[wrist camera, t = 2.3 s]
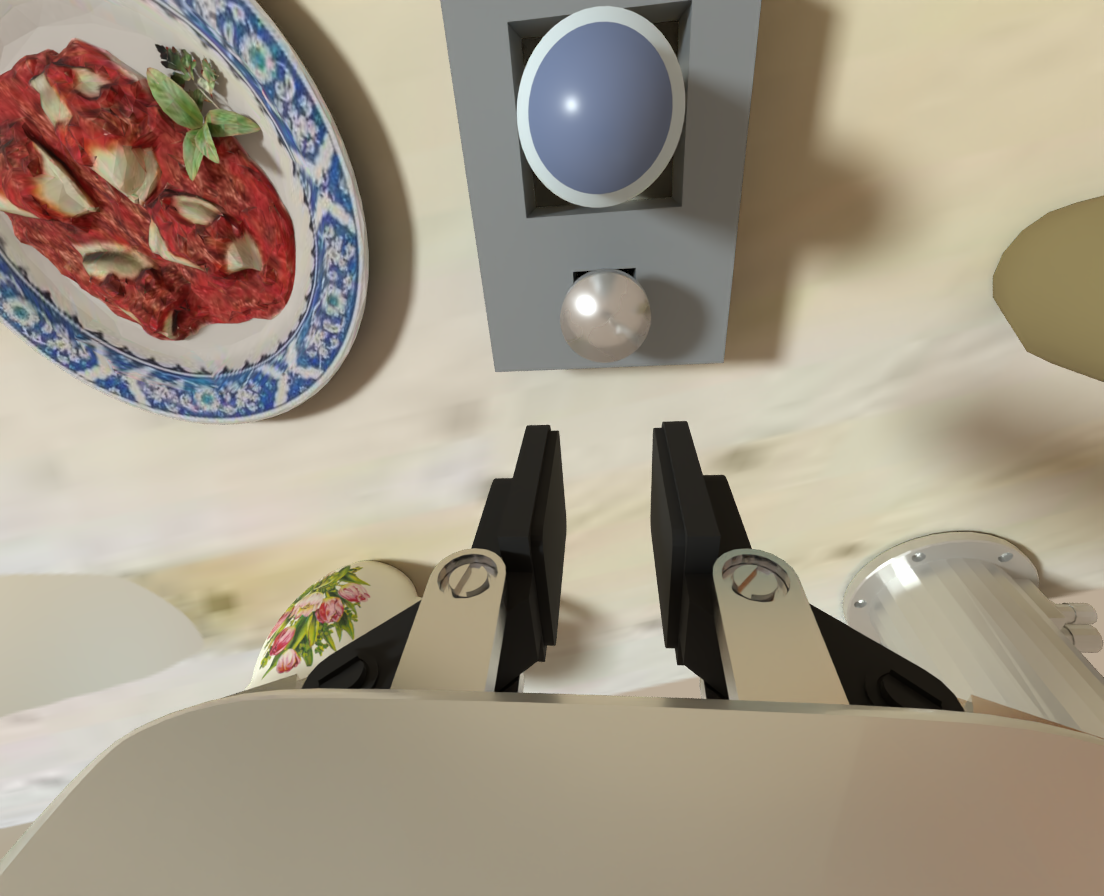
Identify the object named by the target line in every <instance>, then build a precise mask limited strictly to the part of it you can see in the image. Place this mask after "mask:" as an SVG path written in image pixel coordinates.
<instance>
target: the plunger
mask: <svg viewBox="0 0 1104 896" xmlns="http://www.w3.org/2000/svg"><path fill="white" fill-rule="evenodd" d="M650 324H651V311H650V306H649V302H648V298H647V295H646V293H645V291H644V289H643V288H642V286H641V285H640V284H639V282H638V281H637V280H636V279H634V278H633V277H632V276H630V275H629V274H627V273H625V272H623V271H620V270H617V269H610V268H604V269H597V270H593V271H590V272H588V273H586V274H584V275H583V276H581V277H580V278H578V279H577V280H576V281H575V282H574V283H573V284H572V285H571V287H570V288H569V290H568V291H567V293H566V295H565V298H564V301H563V304H562V308H561V314H560V325H561V330H562V334H563V336H564V338H565V340H566V342H567V344H568V345H569V346H570V347H571V349H572V350H573V351H574V352H576V353H577V354H578V355H580V356H581V357H583V358H585V359H588V360H590V361H594V362H600V363H608V362H614V361H618V360H621V359H624V358H626V357H628V356H629V355H631V354H632V353H633V352H635V351H636V350H637V349H638V348H639V347H640V346H641V344H642V343H643V342H644V340H645V338H646V336H647V334H648V331H649V328H650Z"/></svg>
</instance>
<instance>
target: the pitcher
mask: <svg viewBox="0 0 1104 896" xmlns="http://www.w3.org/2000/svg"><path fill="white" fill-rule="evenodd" d="M420 600H422V598H421V597H418V595H417V593H416V589H415V587H414V585H413V583H412V582H411V580H410V579H409V578H408V577H407V576H406V575H405V574H404V573H403V572H401V571H400V570H398V569H396V568H395V567H393V566H390V565H388V564H385V563H381V562H376V561H360V562H356V563H353V564H351V565H347V566H344V567H341V568H339V569H336V570H334V571H333V572H331V573H329V574H327V575H326V576H324V577H323V578H321V579H320V580H318V581H317V582H316V583H314V584H313V585H312V586H311V587H309V588H308V589H307V590H306V591H305V592H304V593H303V594H301V595H300V596H299V597H298V598H297V599H296V600H295V601H294V602H293V603H292V605H291V606H290V607H289V608H288V609H287V610H286V612H285V613H284V614H283V615H282V617H281V618H280V619H279V621H278V622H277V623H276V625H275V626H274V628H273V629H272V631H271V632H270V634H269V636H268V638H267V639H266V641H265V643H264V645H263V647H262V650H261V652H260V654H259V656H258V659H257V662H256V665H255V668H254V672H253V676H252V680H251V683H250V684H249V685H248V686H247V687H246V689H245V690H248V689H251V688H254V687H257V686H261V685H264V684H267V683H270V682H273V681H276V680H279V679H282V678H285V677H288V676H291V675H295V674H297V675H298V676H299V678H300V679H303V678H306V677H308V675H309V674H310V673H311V672H312V671H313V669H314V668H315V667H316V666H317V665H318V664H319V663H320V662H321V661H323V660H324V659H325V658H327V657H328V656H329V655H331V654H333V653H334V652H336V651H337V650H339V649H341V648H342V647H344V646H346V645H347V644H349V643H351V642H352V641H354V640H356V639H357V638H359V637H361V636H362V635H364V634H366V633H367V632H369V631H370V630H372V629H374V628H375V627H377V626H379V625H380V624H382V623H384V622H385V621H387V620H389V619H390V618H392V617H394V616H395V615H397V614H399V613H400V612H402V611H403V610H405V609H407V608H408V607H410V606H412V605H413V604H415V603H417V602H418V601H420ZM245 690H244V691H245Z"/></svg>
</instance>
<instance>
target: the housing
mask: <svg viewBox="0 0 1104 896" xmlns="http://www.w3.org/2000/svg"><path fill="white" fill-rule="evenodd" d="M440 1H441V8H442V15H443V21H444V28H445V35H446V42H447V48H448V55H449V62H450V69H451V76H452V82H453V89H454V96H455V103H456V109H457V116H458V123H459V130H460V136H461V143H462V150H463V157H464V163H465V170H466V177H467V184H468V191H469V197H470V204H471V211H472V218H473V224H474V231H475V238H476V245H477V251H478V258H479V265H480V272H481V278H482V285H483V292H484V299H485V305H486V312H487V319H488V326H489V333H490V339H491V346H492V353H493V360H494V366H495V372H508V371H532V370H557V369H582V368H607V367H632V366H657V365H682V364H707V363H724V354H725V344H726V335H727V325H728V315H729V306H730V296H731V287H732V277H733V268H734V258H735V248H736V239H737V229H738V220H739V210H740V201H741V191H742V182H743V172H744V162H745V153H746V143H747V134H748V124H749V115H750V105H751V95H752V86H753V76H754V67H755V57H756V48H757V38H758V28H759V19H760V9H761V0H440ZM597 6H612V7H620V8H624V9H627V10H630V11H633V12H635V13H637V14H639V15H640V16H642V17H644V18H645V19H647V20H648V21H649V22H651V23H659V22H668V21H676V20H679V26H678V51H677V60H678V63H679V65H680V68H681V72H682V76H683V80H684V88H685V115H684V122H683V127H682V132H681V135H680V138H679V141H678V144H677V147H676V149H675V151H674V153H673V175H672V197H667V198H654V199H641V200H628V201H626V202H623V203H621V204H617V205H614V206H609V207H602V208H591V207H584V206H580V205H563V206H550V207H537V208H536V202H535V190H534V179H533V170H532V168H531V166H530V164H529V163H528V161H527V159H526V156H525V154H524V151H523V148H522V145H521V141H520V137H519V132H518V125H517V99H518V92H519V87H520V82H521V79H522V76H523V72H524V63H523V52H522V40H521V38H530V37H539V36H545V35H546V34H547V33H548V32H549V31H550V30H551V29H552V28H553V27H554V26H555V25H556V24H558V23H559V22H560V21H561V20H563V19H565V18H566V17H568V16H570V15H572V14H573V13H576V12H578V11H581V10H584V9H587V8H592V7H597ZM604 268H610V269H626V268H632V277H633V278H634V279H636V280H637V281H638V282H639V284H640V285H641V286H642V288H643V289H644V291H645V293H646V295H647V298H648V302H649V306H650V311H651V324H650V328H649V331H648V334H647V336H646V338H645V340H644V342H643V343H642V344H641V346H640V347H639V348H638V349H637V350H636V351H635V352H633V353H632V354H631V355H629V356H628V357H626V358H624V359H621V360H618V361H614V362H608V363H600V362H594V361H590V360H588V359H585V358H583V357H581V356H580V355H578V354H577V353H576V352H574V351H573V350H572V349H571V347H570V346H569V345H568V344H567V342H566V340H565V338H564V336H563V334H562V330H561V325H560V314H561V308H562V304H563V301H564V298H565V295H566V293H567V291H568V290H569V288H570V287H571V285H572V284H573V283H574V282H575V281H576V280H577V279H578V275H577V271H593V270H597V269H604Z"/></svg>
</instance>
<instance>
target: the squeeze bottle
mask: <svg viewBox="0 0 1104 896" xmlns="http://www.w3.org/2000/svg"><path fill="white" fill-rule="evenodd" d="M993 298H994V300H995V301H996V303H997V305H998V306H999V308H1000V310H1001V311H1002V313H1003V314H1004V316H1005V318H1006V319H1007V321H1008V322H1009V324H1010V325H1011V327H1012V329H1013V330H1014V332H1015V333H1016V335H1017V336H1018V338H1019V340H1020V341H1021V343H1022V344H1023V346H1024V348H1025V349H1026V351H1027V352H1029V353H1031V354H1033V355H1035V356H1038V357H1040V358H1042V359H1044V360H1046V361H1048V362H1050V363H1052V364H1055V365H1058V366H1061V367H1063V368H1066V369H1069V370H1072V371H1075V372H1077V373H1080V374H1083V375H1086V376H1088V377H1091V378H1094V379H1097V380H1100V381H1102V382H1104V196H1100V197H1096V198H1093V199H1089V200H1085V201H1081V202H1077V203H1074V204H1071V205H1069V206H1066V207H1063V208H1060V209H1057V210H1054V211H1052V212H1049V213H1047V214H1046V215H1044V216H1043V217H1041V218H1040V219H1039V220H1037V221H1036V222H1034V223H1033V224H1031V225H1030V226H1028V227H1027V228H1026V229H1024V230H1023V231H1022V232H1021V233H1020V234H1019V235H1018V236H1017V238H1016V239H1015V240H1014V241H1013V242H1012V243H1011V245H1010V246H1009V247H1008V248H1007V249H1006V250H1005V252H1004V253H1003V255H1002V257H1001V259H1000V262H999V264H998V266H997V268H996V271H995V273H994V275H993Z"/></svg>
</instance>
